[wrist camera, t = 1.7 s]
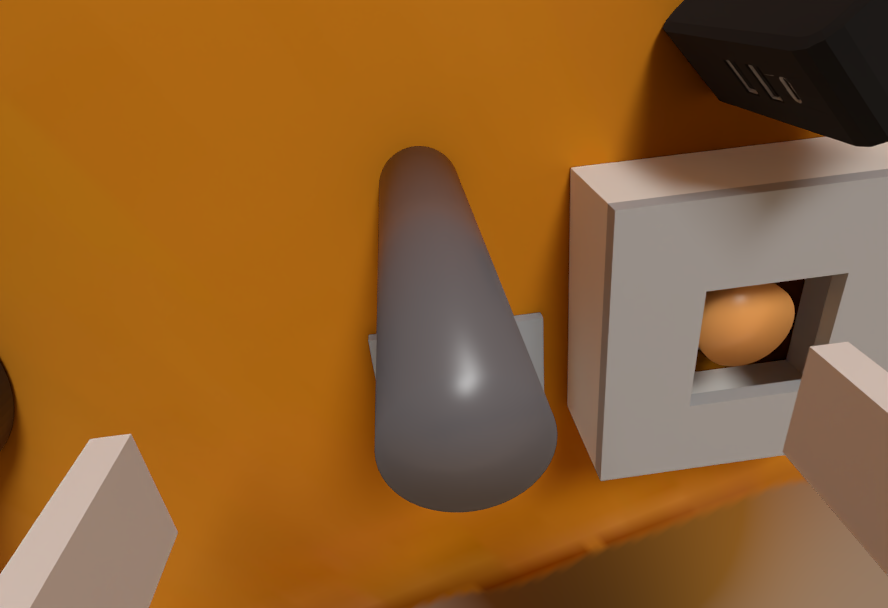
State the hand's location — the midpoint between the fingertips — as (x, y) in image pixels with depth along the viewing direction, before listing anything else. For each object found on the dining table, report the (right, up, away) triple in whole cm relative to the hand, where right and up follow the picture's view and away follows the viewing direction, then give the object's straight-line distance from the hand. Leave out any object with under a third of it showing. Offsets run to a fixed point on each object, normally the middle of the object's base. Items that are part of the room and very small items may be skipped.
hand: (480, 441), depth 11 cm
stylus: (-2, +8, +15) cm, 17 cm away
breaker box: (+13, +4, +19) cm, 23 cm away
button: (+13, +3, +16) cm, 21 cm away
